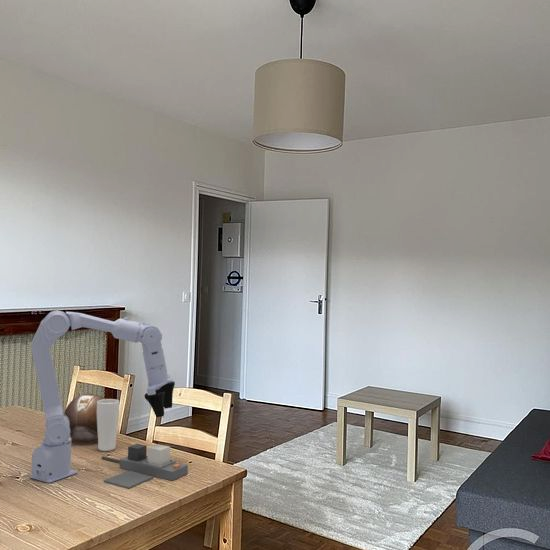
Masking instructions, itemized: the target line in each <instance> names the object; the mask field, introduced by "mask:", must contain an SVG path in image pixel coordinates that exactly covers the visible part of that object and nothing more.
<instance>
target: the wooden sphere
mask: <svg viewBox="0 0 550 550" xmlns="http://www.w3.org/2000/svg"><path fill="white" fill-rule="evenodd" d="M103 399H105V398H103V397H102V396H101V395H98V394H95V393H85V394H80V395H78V396H76V397H75V398H74V399H72V400H71V401H70V402H69V403H68V405H67V406H66V408H65V411H64V414H65V415H66V416H67V417H68V419H69V422H70V425H69V427H70V436H72V438H74V439H76V440H79V441H85V442H87V441H93V440H96V439H98V432H97V401H99V400H103Z"/></svg>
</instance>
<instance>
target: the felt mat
mask: <svg viewBox="0 0 550 550" xmlns="http://www.w3.org/2000/svg"><path fill="white" fill-rule="evenodd" d="M153 479H154V476H150V475H146V474H142V473H138V472H134V471H130V470H126V471H124V472H121V473H119V474H116V475H114V476H111V477H108V478H105V479H103V483H106V484H110V485H114V486H118V487H121V488H125V489H129V490H130V489H132V488H134V487H136V486H139V485H141V484H143V483H145V482H148V481H150V480H153Z"/></svg>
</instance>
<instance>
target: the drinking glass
mask: <svg viewBox="0 0 550 550" xmlns="http://www.w3.org/2000/svg"><path fill="white" fill-rule="evenodd" d="M119 417H120V400H119V399H116V398H115V399H114V398H104V399H103V400H99V401H97V432H98V438H97V449H98V450H99V451H101V452H110V451H113V450H115V449H116V447H117V433H118V425H119Z"/></svg>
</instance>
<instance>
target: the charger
mask: <svg viewBox="0 0 550 550" xmlns="http://www.w3.org/2000/svg"><path fill="white" fill-rule="evenodd" d="M147 456H148V463H149V464H153V465H157V466H162V465H165V464H167V463H170V460H171V446H169V445H163V444H159V443H158V444H154V445H152V446H149V447H147Z"/></svg>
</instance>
